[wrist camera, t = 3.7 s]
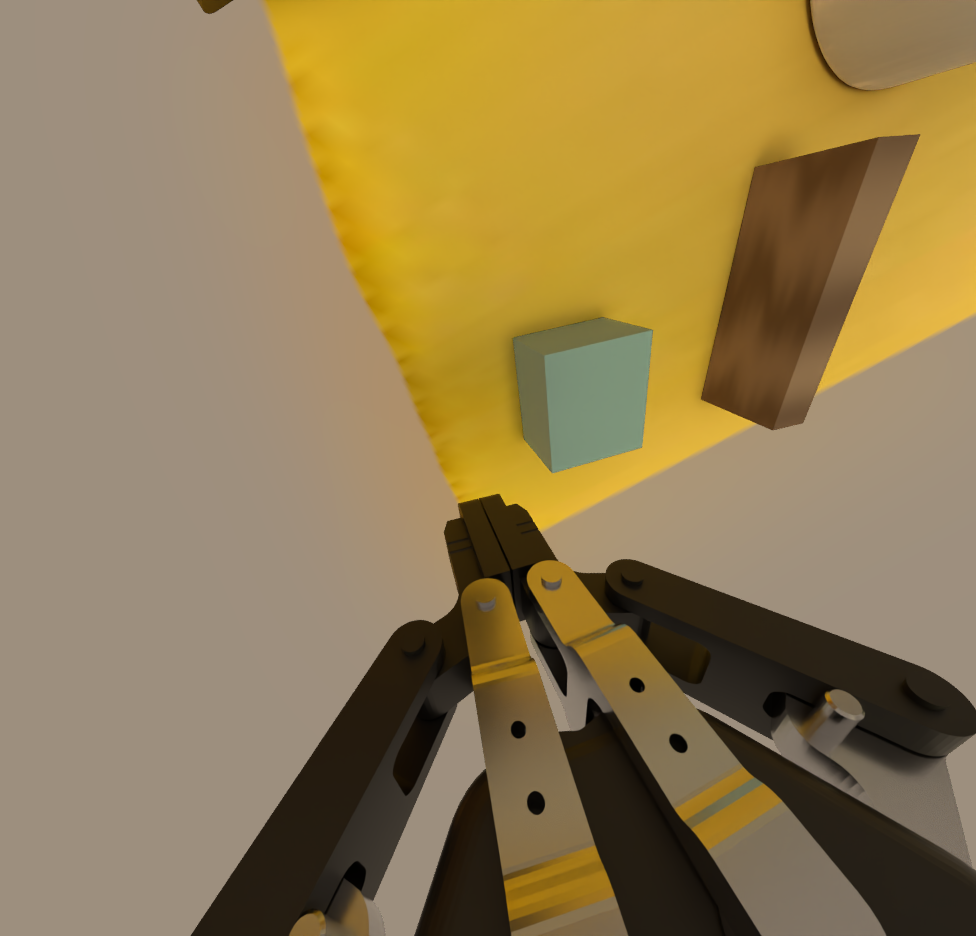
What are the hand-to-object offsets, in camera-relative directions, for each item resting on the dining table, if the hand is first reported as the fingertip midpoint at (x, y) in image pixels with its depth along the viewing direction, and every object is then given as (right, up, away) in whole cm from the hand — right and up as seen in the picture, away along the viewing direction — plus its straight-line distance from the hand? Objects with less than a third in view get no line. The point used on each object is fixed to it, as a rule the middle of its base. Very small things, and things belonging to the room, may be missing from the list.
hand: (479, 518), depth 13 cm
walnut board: (+17, +13, +11) cm, 25 cm away
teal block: (+5, +8, +11) cm, 14 cm away
